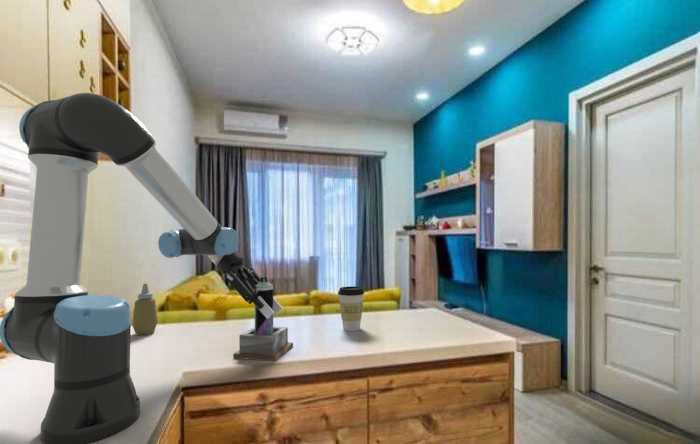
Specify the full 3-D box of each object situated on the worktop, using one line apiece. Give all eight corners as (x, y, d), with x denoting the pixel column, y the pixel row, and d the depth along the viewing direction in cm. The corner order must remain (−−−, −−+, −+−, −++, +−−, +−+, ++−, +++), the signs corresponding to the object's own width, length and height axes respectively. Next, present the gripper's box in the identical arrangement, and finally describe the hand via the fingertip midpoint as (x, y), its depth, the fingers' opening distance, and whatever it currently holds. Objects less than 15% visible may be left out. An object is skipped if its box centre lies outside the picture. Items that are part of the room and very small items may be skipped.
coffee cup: (355, 333, 125) (355, 291, 125) (333, 330, 130) (332, 288, 131) (369, 327, 133) (369, 287, 134) (347, 324, 138) (347, 285, 139)
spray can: (261, 348, 103) (261, 278, 104) (251, 344, 107) (251, 277, 108) (277, 343, 107) (276, 277, 108) (266, 340, 111) (266, 275, 112)
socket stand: (275, 360, 99) (275, 338, 99) (233, 357, 102) (233, 336, 102) (293, 346, 112) (292, 326, 112) (255, 344, 115) (255, 324, 115)
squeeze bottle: (146, 336, 125) (146, 285, 126) (126, 336, 127) (126, 285, 127) (162, 330, 133) (162, 282, 134) (144, 330, 134) (144, 282, 135)
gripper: (234, 264, 120) (280, 315, 116) (200, 269, 102) (252, 329, 98) (249, 248, 119) (295, 299, 115) (216, 250, 101) (269, 311, 97)
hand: (275, 313), depth 106 cm, fingers closed on spray can, 5 cm apart
